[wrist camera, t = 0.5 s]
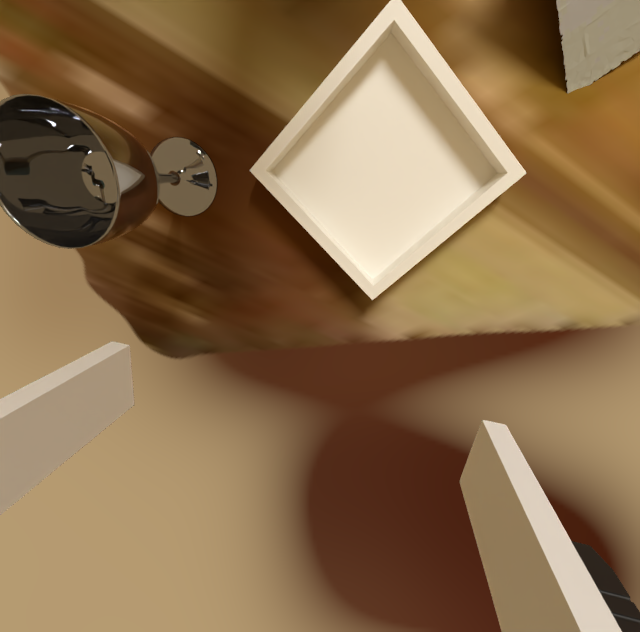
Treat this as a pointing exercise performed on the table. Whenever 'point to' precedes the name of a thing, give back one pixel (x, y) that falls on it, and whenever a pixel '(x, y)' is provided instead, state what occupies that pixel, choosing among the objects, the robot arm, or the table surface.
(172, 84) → the table surface
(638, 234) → the table surface
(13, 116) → the silver metal goblet
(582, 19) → the grey display stand
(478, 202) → the tray
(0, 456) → the robot arm
